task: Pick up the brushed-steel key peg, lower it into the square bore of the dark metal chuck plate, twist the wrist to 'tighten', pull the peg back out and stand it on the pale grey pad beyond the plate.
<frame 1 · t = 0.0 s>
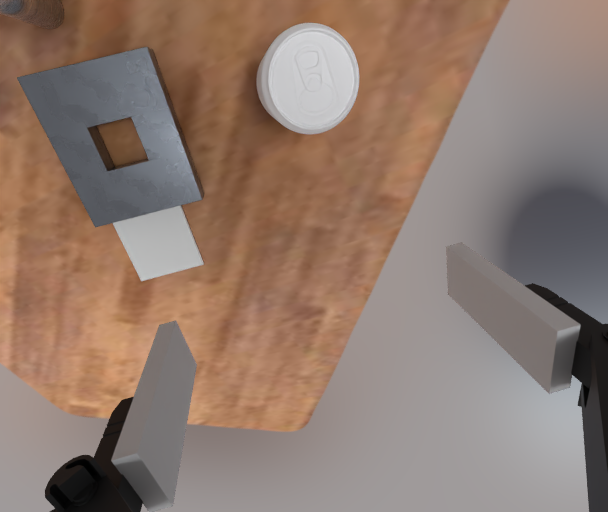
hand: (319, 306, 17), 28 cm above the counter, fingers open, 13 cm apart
beverage can: (293, 84, 38), on the counter
key peg: (44, 8, 32), on the counter
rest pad: (160, 243, 43), on the counter
chuck plate: (125, 141, 38), on the counter
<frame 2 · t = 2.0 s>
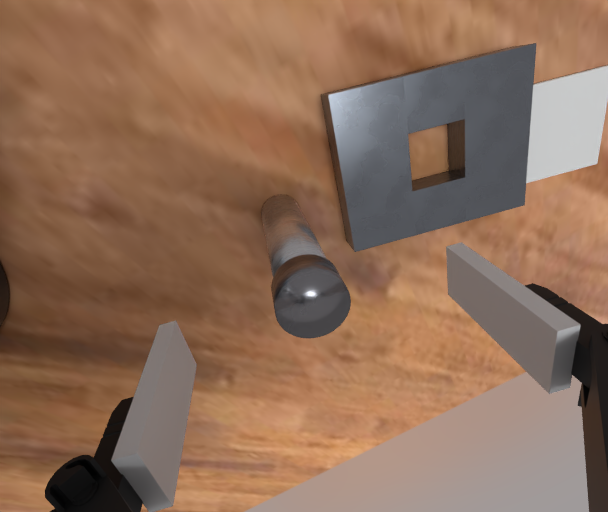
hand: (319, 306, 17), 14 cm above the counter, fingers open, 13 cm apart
key peg: (280, 213, 29), on the counter
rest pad: (557, 128, 30), on the counter
chuck plate: (422, 151, 29), on the counter
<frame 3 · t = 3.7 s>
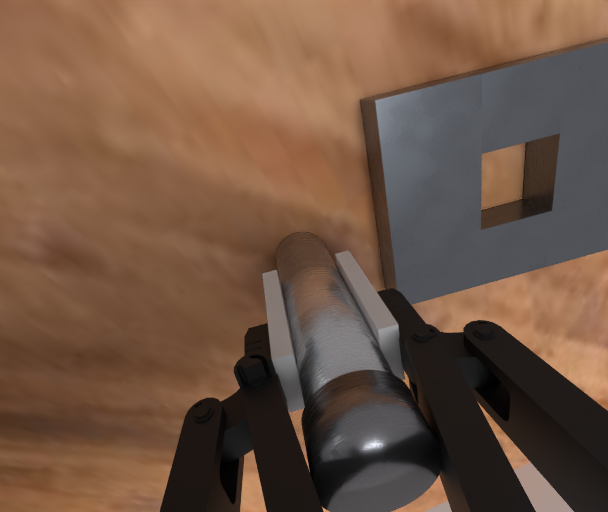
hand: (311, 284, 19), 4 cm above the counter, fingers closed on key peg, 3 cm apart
key peg: (301, 255, 22), on the counter, touching gripper
chuck plate: (491, 174, 22), on the counter
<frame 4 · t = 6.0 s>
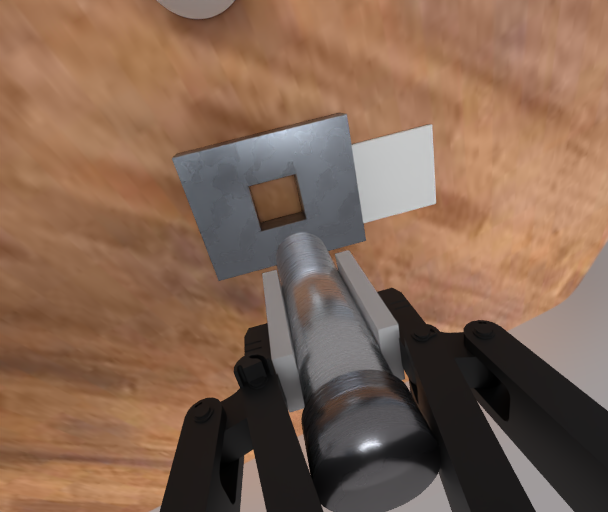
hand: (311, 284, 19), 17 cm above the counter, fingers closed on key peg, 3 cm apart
key peg: (301, 256, 22), point 14 cm above the counter, touching gripper
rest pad: (394, 175, 35), on the counter
chuck plate: (275, 196, 34), on the counter
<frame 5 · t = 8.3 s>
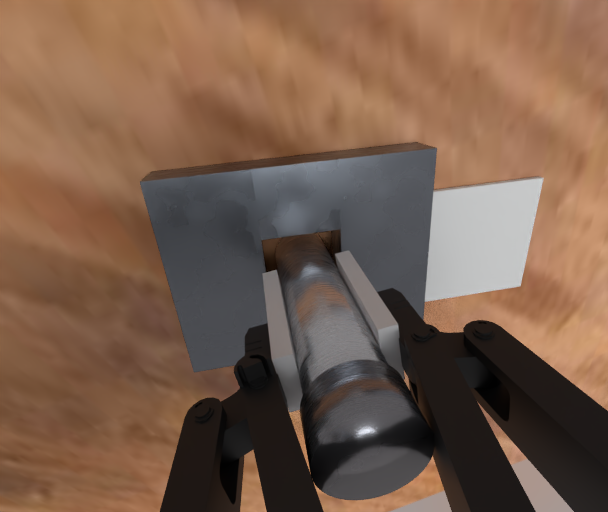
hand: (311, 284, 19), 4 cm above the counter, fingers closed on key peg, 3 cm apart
key peg: (300, 253, 22), resting in chuck plate, touching gripper
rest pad: (473, 241, 24), on the counter
chuck plate: (298, 252, 22), on the counter
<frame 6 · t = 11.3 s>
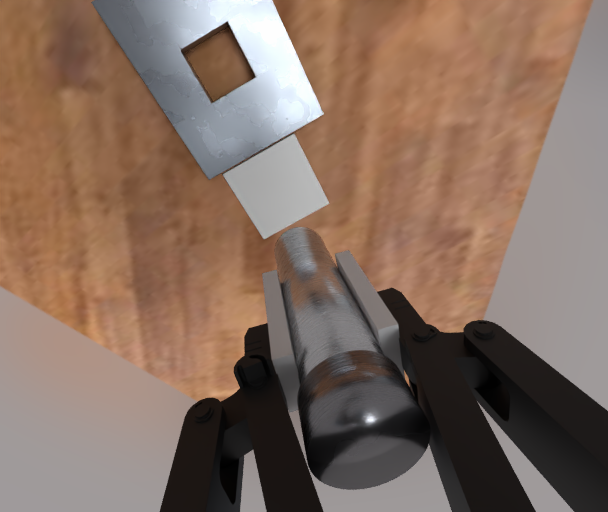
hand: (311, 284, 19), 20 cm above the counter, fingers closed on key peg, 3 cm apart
key peg: (299, 250, 23), point 15 cm above the counter, touching gripper
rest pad: (277, 188, 36), on the counter
chuck plate: (220, 65, 31), on the counter
when the fingers open (5 cm above the counter, at t = 13.1 s): key peg stays where it is, resting on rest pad.
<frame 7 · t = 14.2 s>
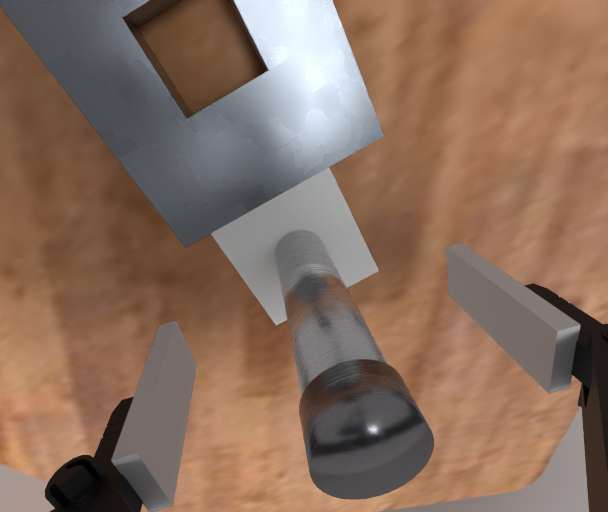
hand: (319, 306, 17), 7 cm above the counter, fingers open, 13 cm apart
key peg: (300, 253, 22), resting on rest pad
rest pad: (299, 250, 23), on the counter
chuck plate: (204, 51, 17), on the counter
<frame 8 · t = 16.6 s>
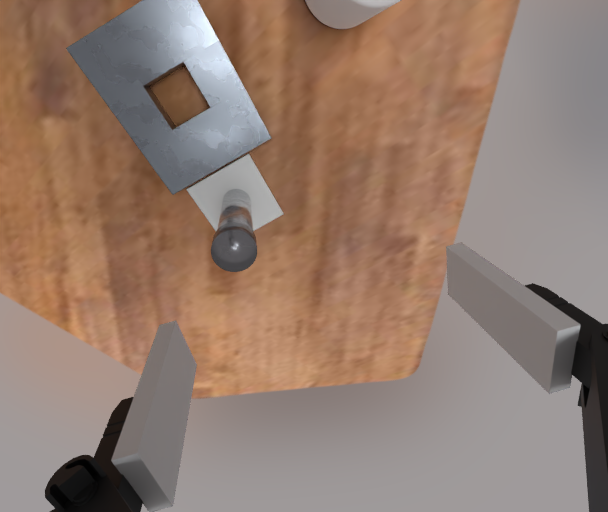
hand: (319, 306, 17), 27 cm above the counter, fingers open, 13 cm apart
key peg: (236, 202, 41), resting on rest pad
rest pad: (236, 201, 41), on the counter
chuck plate: (181, 96, 36), on the counter
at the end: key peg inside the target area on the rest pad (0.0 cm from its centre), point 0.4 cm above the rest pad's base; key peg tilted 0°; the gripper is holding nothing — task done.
